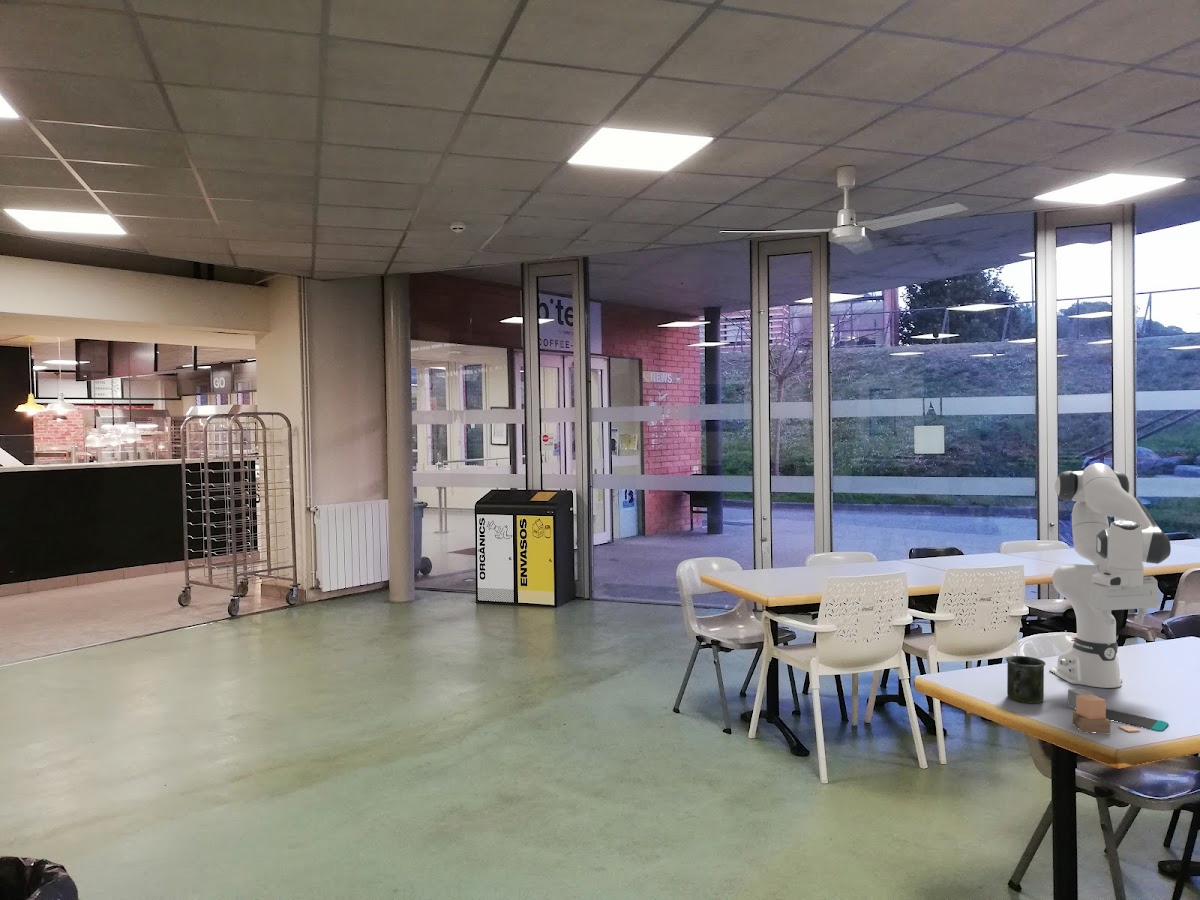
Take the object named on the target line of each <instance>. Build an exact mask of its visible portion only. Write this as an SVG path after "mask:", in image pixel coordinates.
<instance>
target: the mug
mask: <svg viewBox="0 0 1200 900" xmlns="http://www.w3.org/2000/svg"><path fill="white" fill-rule="evenodd" d="M1005 661H1006V664H1007V669H1006V670H1007V672H1006V673H1007V681H1006V682H1007V683H1006V684H1007V685H1006V686H1007V687H1006V688H1007V692H1006V693H1007V696H1008V699H1010V700H1013V701H1015V702H1020V703H1025V704H1040V703H1042V702H1043V701H1044V692H1045V691H1044V690H1045V689H1044V688H1045V685H1044V684H1045V683H1044V682H1045V681H1044V680H1045V673H1044V671H1045V666H1046V662H1045V661H1044V660H1042V659H1040V658H1036V657H1031V656H1023V655H1014V656H1013V655H1010V656H1007V657H1006V658H1005Z"/></svg>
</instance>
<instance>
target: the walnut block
mask: <svg viewBox="0 0 1200 900" xmlns="http://www.w3.org/2000/svg"><path fill="white" fill-rule="evenodd" d="M1071 713H1072V714H1071V724H1072V725H1073V724H1074V725H1075V726H1076V727H1077V729H1078V728H1079V729H1080V730H1081V731H1082V732H1096V733H1110V734H1111V721H1110V720H1109V719H1107V718H1100V719H1088V718H1086V717H1084V716H1082V715H1079V714H1077V713H1076V710H1072V711H1071ZM1074 725H1073V726H1074ZM1075 726H1074V727H1075ZM1076 727H1075V728H1076ZM1079 729H1078V730H1079ZM1080 730H1079V731H1080ZM1081 731H1080V732H1081ZM1082 732H1081V733H1082ZM1096 733H1095V734H1096Z"/></svg>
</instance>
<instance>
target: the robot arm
mask: <svg viewBox="0 0 1200 900" xmlns="http://www.w3.org/2000/svg"><path fill="white" fill-rule="evenodd" d="M1054 489H1055V492H1056V493H1055V494H1056V495H1057V498H1059V499H1060V500H1063V501H1065V502H1072V501H1073V502H1075V503H1074V504H1073V507H1072V511H1071V512H1072V513H1071V531H1072V543H1073V548H1074V551H1075V552H1076V553H1077V555H1078V556H1080V557H1082V558H1083V559H1086V560H1088V561H1089V562H1091V563H1092V564H1078V563H1077V564H1076V563H1073V564H1065V565H1059V566H1058V567H1056V569H1055V570H1054V571H1053V574H1052V577H1051V578H1052V580H1051V581H1052V586H1053V588H1054V589H1055V591H1056V592H1057V593H1058V594H1060V595H1061V596H1062V597H1064V598H1065V599H1066V600H1067V601H1068V602H1069V604H1070V605H1071V607H1072V609H1073V611H1074V614H1075V619H1076V636H1075V637H1070V639H1071V640H1070V642H1073V644H1072V647H1070V648H1068V649H1067V650H1066V651H1063V652H1062V653H1060V654H1059V655H1058V658H1057V662H1056V664H1057V665H1056V666H1053V667H1050V668H1049V669H1048V671H1049V670H1050V671H1051V672H1050V671H1049V672H1050V673H1052V672H1053V673H1052V674H1054V673H1055V674H1054V675H1055V676H1057V677H1059V678H1061V679H1063V680H1065V681H1066V682H1067V683H1070V684H1074V685H1082V686H1088V687H1093V688H1094V687H1095V688H1107V689H1109V688H1111V689H1113V688H1114V689H1115V688H1120V687H1121V686H1122V682H1123V678H1122V677H1121V671H1120V664H1119V663H1120V662H1119V661H1120V660H1119V658H1118V655H1117V654H1118V648H1119V646H1118V641H1117V621H1116V618H1115V616H1114V615H1113V614H1112V611H1119V610H1135V609H1136V610H1137V611H1138V612H1137V614H1136V615H1135V616H1134V618H1133V622H1134V623H1135V624H1144V619H1145V617H1146V615H1147V613H1148V609H1155V608H1158V607H1159V605H1160V590H1159V587H1158V580H1157V579H1156V577H1154V576H1153V575H1146V576H1145V575H1144V564H1143V563H1146V564H1156V565H1158V564H1160V563H1162V562H1164V561H1165V560H1167V559H1168V558H1169V557H1170V555H1171V550H1172V549H1171V541H1170V539H1169V537H1168V535H1167V534H1166V533H1165V532H1164V531H1163V530H1162V529H1161V528H1160V527H1159V526H1158V525H1157V522H1156V521H1155V520H1154V518H1153V517H1152V516H1151V514H1150V512H1149V511H1148V510H1147V508H1146V506H1145V505H1144V504H1143V503H1142V501H1141V500H1140V499H1139V498H1137V497H1135V496H1133V495H1132V494H1130V490H1131V485H1130V481H1129V477H1128V476H1127V475H1126V474H1125V473H1124V472H1120V471H1114V469H1112V468H1111V467H1110V465H1108V464H1105V463H1099V462H1098V463H1097V462H1096V463H1091V464H1089V465H1088V466H1086V467H1085V468H1084V469H1083V470H1076V471H1075V470H1074V471H1072V470H1067V471H1066V470H1065V471H1062V472H1060V473H1059V474H1058V475H1057V476H1056V479H1055V482H1054ZM1108 517H1112V518H1117V519H1119V520H1114V521H1112V522H1111V523H1110V524H1109V518H1108Z"/></svg>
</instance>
